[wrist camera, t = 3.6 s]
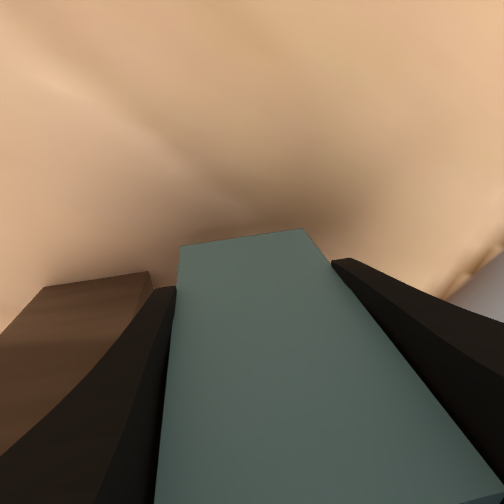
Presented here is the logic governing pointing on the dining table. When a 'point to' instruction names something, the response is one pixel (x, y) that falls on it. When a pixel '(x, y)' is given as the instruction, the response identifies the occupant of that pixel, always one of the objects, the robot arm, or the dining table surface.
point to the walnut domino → (61, 345)
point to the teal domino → (297, 391)
